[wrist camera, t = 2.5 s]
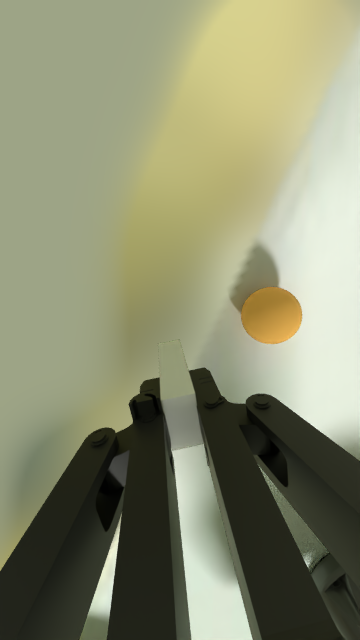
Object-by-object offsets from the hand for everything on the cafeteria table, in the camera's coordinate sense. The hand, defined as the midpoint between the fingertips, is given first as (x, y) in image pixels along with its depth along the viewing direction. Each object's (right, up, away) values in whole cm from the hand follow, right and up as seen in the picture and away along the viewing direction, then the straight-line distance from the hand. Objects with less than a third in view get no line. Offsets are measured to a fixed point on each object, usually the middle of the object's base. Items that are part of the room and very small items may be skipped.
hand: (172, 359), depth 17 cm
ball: (+9, +3, +7) cm, 12 cm away
